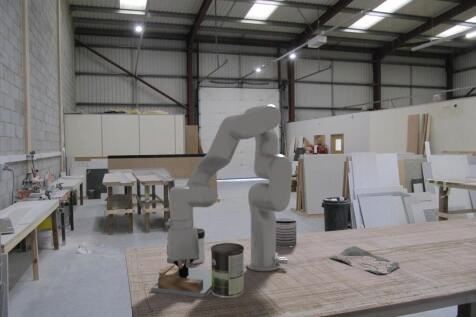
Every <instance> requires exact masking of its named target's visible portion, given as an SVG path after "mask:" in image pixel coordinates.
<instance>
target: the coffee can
mask: <svg viewBox="0 0 476 317" xmlns="http://www.w3.org/2000/svg"><path fill="white" fill-rule="evenodd" d="M244 250H245V247H244V246H243V244H240V243H234V242H233V243H232V242H222V243H217V244H214V245H212V246H210V251H211V254H210V255H211V260H210V261H211V270H212V290H211V291H210V292H211V294H212V295H213V296H214V297H216V298H221V299H233V298H237V297H240V296H242V295H243V294H244V292H245V291H244Z"/></svg>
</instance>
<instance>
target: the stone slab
mask: <svg viewBox="0 0 476 317" xmlns="http://www.w3.org/2000/svg"><path fill="white" fill-rule="evenodd" d="M338 255H343V256H362V257H363V256H370V257H373V258H375V259H376V260H375V261H386V262H391V261H390V260H389V259H387V258H384V257H382V256H378V255H374V254H372V253H370V252H369V251H367V250H365V249H363V248H360V247H358V246H356V245H354V246H350V247H348V248H345V249H344V250H343V251H341V253H338ZM328 258H329V259H335V260H339V261H342V262H344V263H347V264H348V265H350V264H351V262H350V261H346V260H347V259H344V258H342V257H341V258H342V259H341V258H338V257H337V256H336V255H332V256H331V255H330V256H328ZM343 259H344V260H343ZM392 262H393V261H392ZM360 263H361V264H364V265H369V266H373V267H374V268H376V267H377V266H374V265H372V264H371V263H367V262H360ZM361 264H360V265H361ZM379 264H381V263H379ZM399 264H400V263H398V262H395V261H394V262H393V264H391V265H390V266H392V267H387V266H386V265H385V266H386V267H387V268H389V269H387V272H389V273H382V272H383V271H380V270H378V269H380V268H378V267H377V268H376V269H375V270H376V271H372V270H373V269H368V270H365V272H366V271H367V272H372V273H374V274H375V273H376V274H381V275H388V274H390V273H391V272H393V271H394V270H396V269H397V268H399V267H400V265H399ZM364 265H363V266H364ZM350 266H351V265H350ZM369 266H368V267H369ZM393 266H394V267H393ZM379 271H380V272H379Z"/></svg>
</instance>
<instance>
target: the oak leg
mask: <svg viewBox="0 0 476 317" xmlns="http://www.w3.org/2000/svg"><path fill="white" fill-rule="evenodd" d="M182 265H184V263H182ZM164 276H170V277H179V267H178V266H176V265H175V264H174V266H173V267H171V269H170V270H169V271H168V272H167V273H166V274H165V275H164Z"/></svg>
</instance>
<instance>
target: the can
mask: <svg viewBox="0 0 476 317" xmlns="http://www.w3.org/2000/svg"><path fill="white" fill-rule="evenodd" d="M295 245H296V246H297V219H295V218H284V217H283V218H281V217H279V218H276V246H279V247H278V248H280V247H290V246H295ZM296 246H295V247H296ZM290 248H291V247H290Z"/></svg>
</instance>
